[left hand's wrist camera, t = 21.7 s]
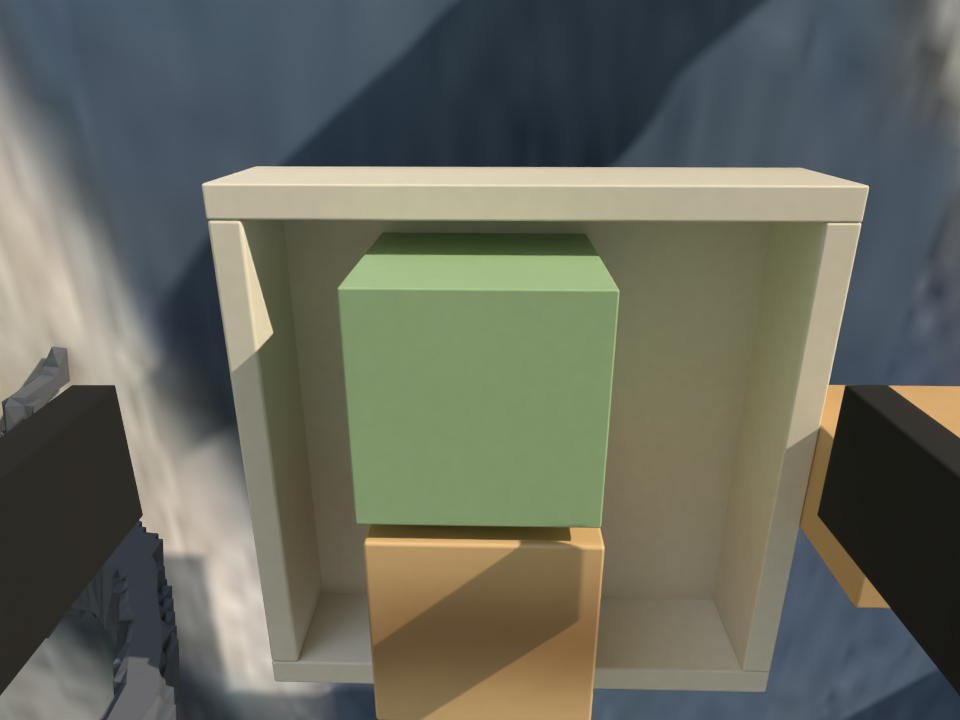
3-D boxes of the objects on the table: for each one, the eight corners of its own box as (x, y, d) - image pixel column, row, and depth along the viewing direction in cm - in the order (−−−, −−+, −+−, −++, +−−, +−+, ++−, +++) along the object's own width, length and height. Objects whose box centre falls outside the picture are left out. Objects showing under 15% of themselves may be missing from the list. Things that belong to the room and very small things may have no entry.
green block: (381, 232, 18) (336, 287, 13) (586, 233, 18) (620, 289, 13) (391, 415, 20) (355, 524, 15) (575, 417, 20) (601, 528, 15)
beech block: (396, 430, 21) (362, 543, 16) (579, 433, 20) (605, 547, 15) (403, 578, 23) (375, 721, 18) (570, 581, 23) (590, 726, 17)
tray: (254, 166, 18) (132, 205, 12) (1348, 169, 18) (1797, 211, 12) (305, 599, 24) (238, 776, 18) (1145, 614, 23) (1379, 804, 17)
